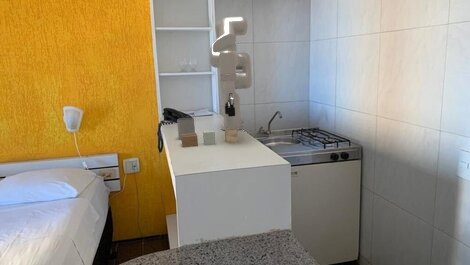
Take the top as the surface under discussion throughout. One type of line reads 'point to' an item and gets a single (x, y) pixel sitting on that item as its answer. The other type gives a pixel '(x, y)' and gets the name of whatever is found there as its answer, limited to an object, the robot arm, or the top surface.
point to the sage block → (209, 137)
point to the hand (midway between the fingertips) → (230, 115)
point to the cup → (185, 126)
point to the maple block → (231, 135)
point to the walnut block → (189, 140)
